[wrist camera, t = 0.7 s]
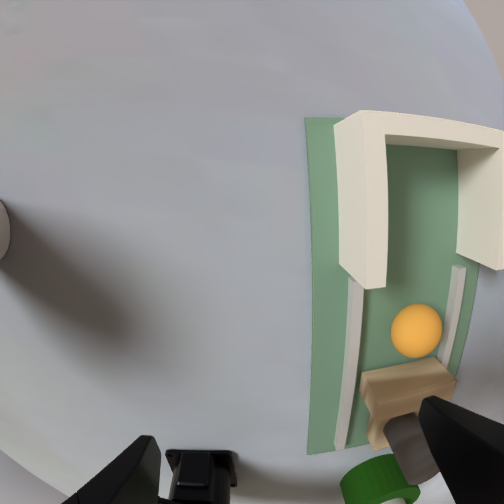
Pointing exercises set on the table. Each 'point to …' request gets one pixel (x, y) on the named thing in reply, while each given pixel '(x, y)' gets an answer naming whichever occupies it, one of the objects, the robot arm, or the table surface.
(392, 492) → the candle
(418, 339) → the ball
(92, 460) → the table surface
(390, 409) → the kicker
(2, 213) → the coffee cup
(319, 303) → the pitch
